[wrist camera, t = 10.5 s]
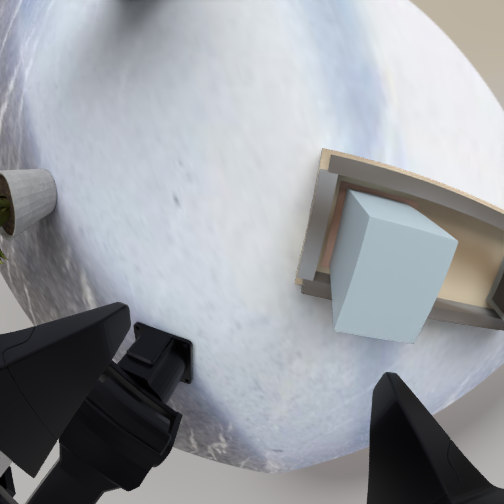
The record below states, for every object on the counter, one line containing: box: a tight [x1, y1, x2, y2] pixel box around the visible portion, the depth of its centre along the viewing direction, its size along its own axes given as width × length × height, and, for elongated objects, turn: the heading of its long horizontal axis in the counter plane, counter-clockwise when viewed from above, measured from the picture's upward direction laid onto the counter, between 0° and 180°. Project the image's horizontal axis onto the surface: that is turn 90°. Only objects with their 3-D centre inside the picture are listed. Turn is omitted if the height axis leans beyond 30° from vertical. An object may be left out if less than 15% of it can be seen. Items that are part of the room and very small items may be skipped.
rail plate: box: [295, 148, 504, 330], centre depth 12 cm, size 9×22×8 cm, turn 82°
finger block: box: [329, 188, 458, 344], centre depth 13 cm, size 5×4×7 cm
